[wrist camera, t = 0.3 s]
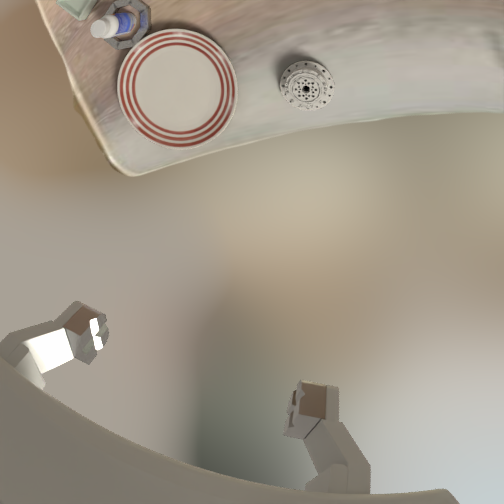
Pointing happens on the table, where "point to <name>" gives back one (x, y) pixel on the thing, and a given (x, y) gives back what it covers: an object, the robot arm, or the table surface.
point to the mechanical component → (312, 74)
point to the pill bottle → (113, 25)
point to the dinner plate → (177, 89)
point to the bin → (77, 7)
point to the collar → (144, 19)
